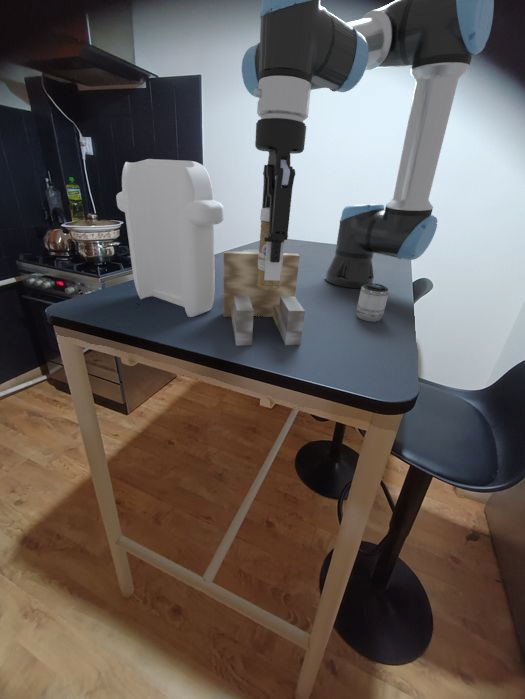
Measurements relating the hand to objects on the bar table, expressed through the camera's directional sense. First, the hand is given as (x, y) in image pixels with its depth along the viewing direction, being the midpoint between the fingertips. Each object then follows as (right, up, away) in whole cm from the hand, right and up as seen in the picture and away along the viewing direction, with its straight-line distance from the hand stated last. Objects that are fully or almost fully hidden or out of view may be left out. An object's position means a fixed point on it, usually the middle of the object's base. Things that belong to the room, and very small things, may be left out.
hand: (269, 275), depth 58 cm
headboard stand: (-1, -9, +9) cm, 13 cm away
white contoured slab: (-22, -2, +20) cm, 29 cm away
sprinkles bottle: (0, -2, +1) cm, 2 cm away
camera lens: (+24, -6, +19) cm, 31 cm away
